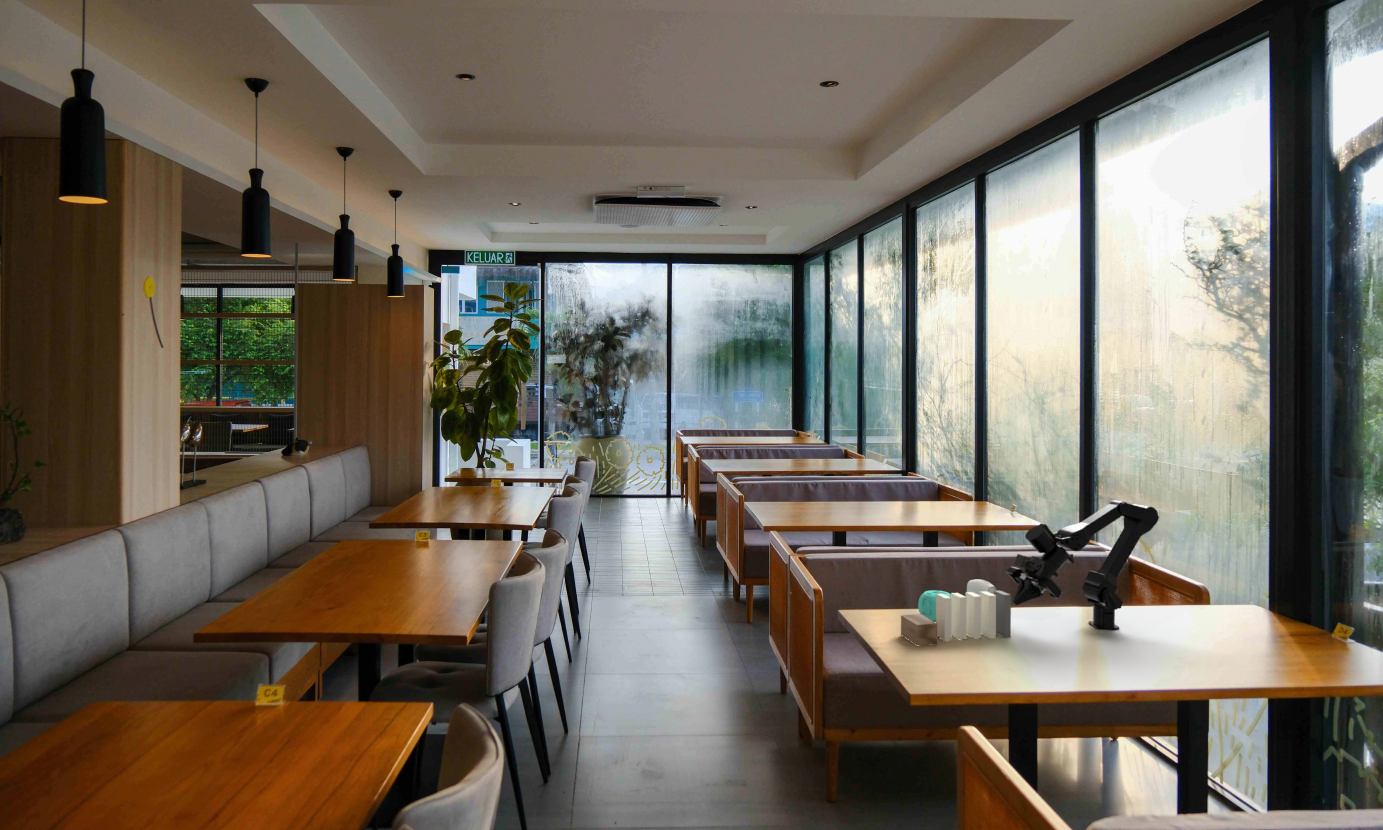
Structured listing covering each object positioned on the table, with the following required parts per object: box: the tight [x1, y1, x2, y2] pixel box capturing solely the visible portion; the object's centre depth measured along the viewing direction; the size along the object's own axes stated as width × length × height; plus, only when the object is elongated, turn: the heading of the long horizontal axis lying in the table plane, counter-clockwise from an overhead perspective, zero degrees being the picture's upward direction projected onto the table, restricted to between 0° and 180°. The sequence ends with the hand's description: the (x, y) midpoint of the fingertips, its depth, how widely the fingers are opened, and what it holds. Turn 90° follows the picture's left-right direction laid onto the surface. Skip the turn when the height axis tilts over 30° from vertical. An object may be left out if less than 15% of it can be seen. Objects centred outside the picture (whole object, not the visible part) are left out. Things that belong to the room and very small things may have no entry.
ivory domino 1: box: [936, 594, 952, 642], centre depth 235 cm, size 2×5×12 cm, turn 11°
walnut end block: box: [900, 613, 938, 646], centre depth 233 cm, size 6×10×6 cm, turn 11°
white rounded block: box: [966, 578, 998, 595], centre depth 252 cm, size 10×4×12 cm, turn 20°
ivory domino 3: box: [965, 591, 982, 640], centre depth 236 cm, size 2×5×12 cm, turn 11°
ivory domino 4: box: [980, 591, 997, 639], centre depth 237 cm, size 2×5×12 cm, turn 11°
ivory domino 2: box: [950, 592, 967, 641], centre depth 235 cm, size 2×5×12 cm, turn 11°
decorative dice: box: [917, 590, 951, 622], centre depth 254 cm, size 8×8×8 cm
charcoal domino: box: [994, 590, 1012, 638], centre depth 238 cm, size 2×5×12 cm, turn 14°
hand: (1014, 603), depth 239 cm, fingers closed
